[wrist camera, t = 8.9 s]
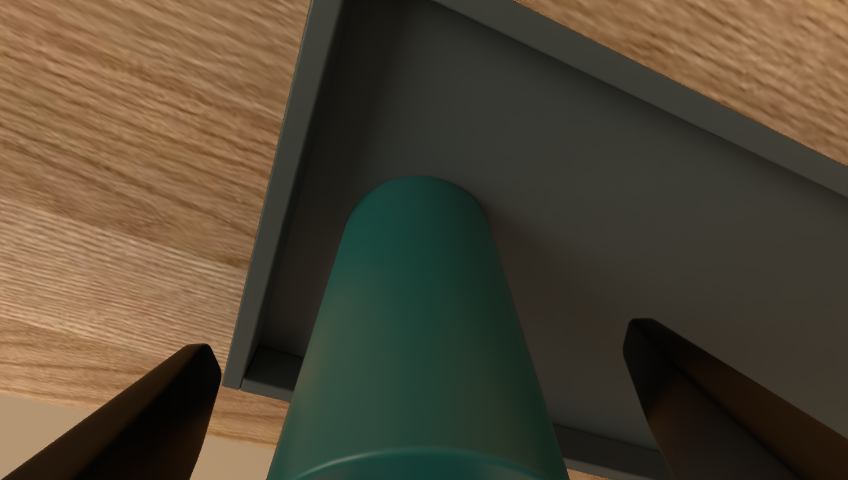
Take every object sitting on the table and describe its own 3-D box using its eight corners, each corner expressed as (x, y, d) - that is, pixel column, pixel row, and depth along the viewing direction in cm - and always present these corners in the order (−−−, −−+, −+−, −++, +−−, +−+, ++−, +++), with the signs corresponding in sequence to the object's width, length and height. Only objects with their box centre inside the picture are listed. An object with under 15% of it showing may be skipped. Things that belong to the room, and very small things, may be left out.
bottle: (356, 303, 14) (203, 1076, 4) (332, 179, 11) (-180, 1285, 2) (489, 295, 13) (676, 1070, 4) (491, 169, 11) (969, 1279, 2)
